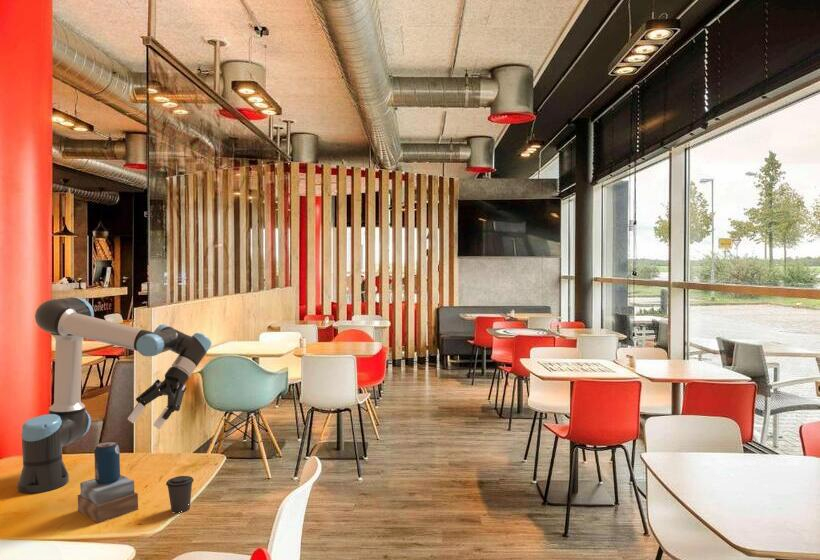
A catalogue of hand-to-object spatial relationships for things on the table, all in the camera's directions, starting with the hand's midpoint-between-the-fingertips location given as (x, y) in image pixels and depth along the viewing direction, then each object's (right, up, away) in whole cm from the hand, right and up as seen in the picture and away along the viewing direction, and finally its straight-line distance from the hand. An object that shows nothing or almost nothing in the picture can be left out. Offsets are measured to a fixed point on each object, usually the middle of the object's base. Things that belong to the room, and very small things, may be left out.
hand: (143, 424), depth 197 cm
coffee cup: (+18, -23, -14) cm, 33 cm away
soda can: (-5, -15, -13) cm, 21 cm away
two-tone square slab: (-5, -24, -13) cm, 28 cm away
